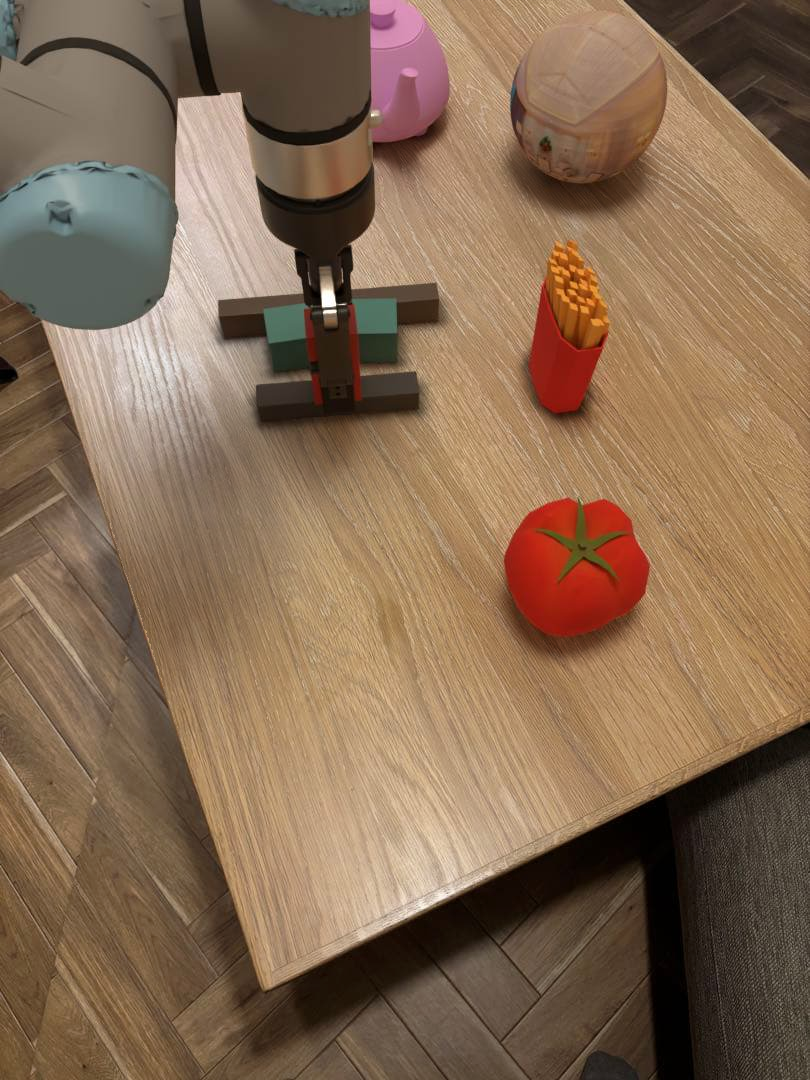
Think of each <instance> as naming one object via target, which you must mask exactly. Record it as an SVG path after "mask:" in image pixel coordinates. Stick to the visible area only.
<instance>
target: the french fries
mask: <svg viewBox="0 0 810 1080" xmlns="http://www.w3.org/2000/svg"><path fill="white" fill-rule="evenodd" d="M578 249H579V244H578V243H577V242H575V241H573V240H571V239H569V238H567V240H566V246H565V248H564V245H563V244H562V243H560V242H558V241H556V240H555V241H554V248H553V249H551V258H549V257H547V263H546V264H547V265H546V276H545V279H544V280H543V282H542V286H541V290H540V294H539V295H540V296H539V301H538V307H537V312H536V313H537V314H536V318H535V319H536V320H535V326H534V332H533V337H532V343H531V349H530V356H529V360H528V361H529V362H528V369H529V372H530V376H531V379H532V383H533V386H534V389H535V392H536V395H537V398H538V400H539V403H540V405H541V406H543V407H545V408H546V409H547V410H549V411H551V412H552V413H554V414H561V413H567V412H568V413H569V412H574V411H578V409H579V407H580V405H581V404H582V402H583V400H584V398H585V396H586V393H587V390H588V388H589V385H590V383H591V380H592V377H593V375H594V372H595V370H596V367H597V364H598V363H599V360H600V358H601V354H602V351H603V350H604V346H605V345H606V341H607V339H608V336H609V334H610V331H609V328H610V326H611V322H610V320H609V318H608V316H607V315H608V306H607V303H606V302H605V301H603V299H604V298H603V297H602V296H601V295H600V287H599V282H598V278H597V277H596V273H595V271H594V270H593V268H592V267H589V266H587V265H586V266H585V260H584V259H583V258H582V256H580V255H579V253H578ZM584 267H585V268H584Z"/></svg>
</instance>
